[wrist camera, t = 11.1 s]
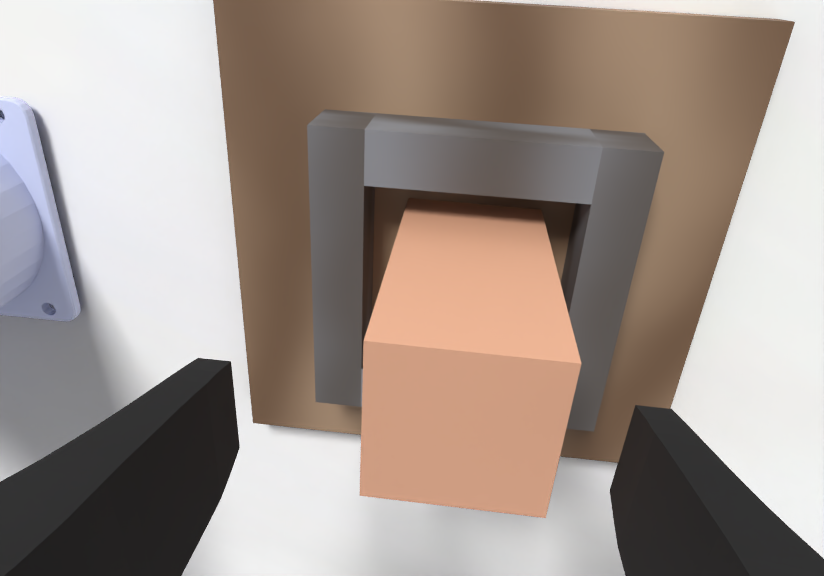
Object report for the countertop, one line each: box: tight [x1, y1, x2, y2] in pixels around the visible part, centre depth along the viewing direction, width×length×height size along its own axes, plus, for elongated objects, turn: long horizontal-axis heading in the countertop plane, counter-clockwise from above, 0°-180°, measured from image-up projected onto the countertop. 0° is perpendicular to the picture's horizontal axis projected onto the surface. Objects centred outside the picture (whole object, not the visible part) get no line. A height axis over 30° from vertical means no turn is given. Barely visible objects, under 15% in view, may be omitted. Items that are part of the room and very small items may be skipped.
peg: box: [360, 198, 581, 518], centre depth 15 cm, size 4×4×8 cm
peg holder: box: [213, 0, 795, 463], centre depth 19 cm, size 15×15×3 cm
